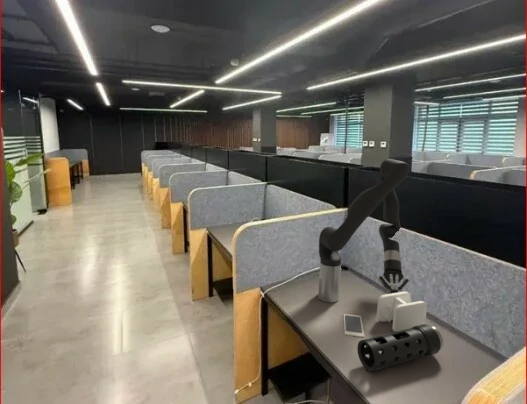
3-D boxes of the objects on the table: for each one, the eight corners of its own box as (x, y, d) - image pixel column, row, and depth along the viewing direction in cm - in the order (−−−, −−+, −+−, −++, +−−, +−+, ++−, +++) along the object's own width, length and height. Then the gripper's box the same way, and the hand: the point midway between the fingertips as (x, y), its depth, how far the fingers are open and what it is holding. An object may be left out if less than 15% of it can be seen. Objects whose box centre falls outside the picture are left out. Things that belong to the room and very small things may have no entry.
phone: (344, 336, 116) (344, 333, 116) (343, 316, 130) (343, 313, 130) (364, 339, 115) (364, 336, 115) (360, 318, 128) (360, 315, 128)
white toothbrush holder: (392, 336, 116) (395, 307, 114) (374, 320, 126) (377, 294, 124) (424, 329, 120) (428, 302, 118) (405, 315, 130) (408, 289, 128)
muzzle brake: (355, 361, 103) (357, 333, 101) (420, 343, 112) (423, 317, 110) (374, 381, 94) (377, 351, 92) (443, 361, 103) (447, 333, 101)
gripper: (378, 257, 142) (379, 294, 133) (409, 260, 139) (413, 298, 130) (376, 263, 148) (377, 299, 139) (405, 266, 145) (408, 303, 136)
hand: (394, 299), depth 134 cm, fingers closed
